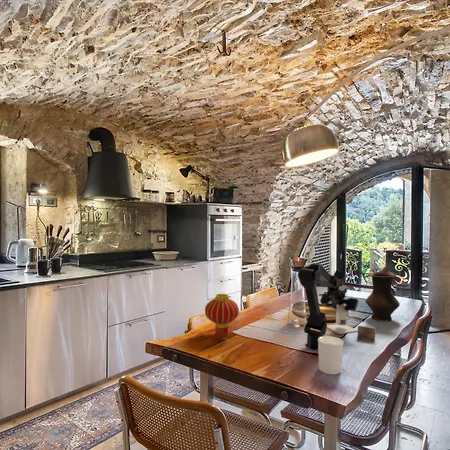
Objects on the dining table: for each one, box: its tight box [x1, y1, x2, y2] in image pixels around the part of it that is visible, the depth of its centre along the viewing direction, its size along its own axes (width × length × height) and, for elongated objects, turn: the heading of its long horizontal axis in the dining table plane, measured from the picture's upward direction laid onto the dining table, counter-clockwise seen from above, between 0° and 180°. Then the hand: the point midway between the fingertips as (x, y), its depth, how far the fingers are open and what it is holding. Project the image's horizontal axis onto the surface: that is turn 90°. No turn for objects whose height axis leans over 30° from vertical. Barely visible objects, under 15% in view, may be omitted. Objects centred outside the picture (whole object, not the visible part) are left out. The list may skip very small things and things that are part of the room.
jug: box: [365, 266, 400, 322], centre depth 209 cm, size 21×18×30 cm
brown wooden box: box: [357, 324, 376, 342], centre depth 176 cm, size 8×4×6 cm, turn 66°
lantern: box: [204, 275, 240, 337], centre depth 178 cm, size 17×17×30 cm
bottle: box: [335, 304, 348, 326], centre depth 189 cm, size 6×5×14 cm
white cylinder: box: [317, 335, 345, 375], centre depth 141 cm, size 10×10×12 cm
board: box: [326, 323, 358, 335], centre depth 190 cm, size 12×12×1 cm
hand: (342, 310), depth 190 cm, fingers closed on bottle, 5 cm apart
